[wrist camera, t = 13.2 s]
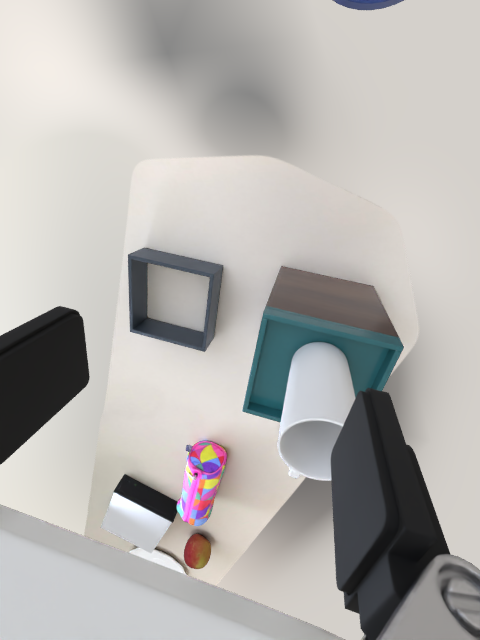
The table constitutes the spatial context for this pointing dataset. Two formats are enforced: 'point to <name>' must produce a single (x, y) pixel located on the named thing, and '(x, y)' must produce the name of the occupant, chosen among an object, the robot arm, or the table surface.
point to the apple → (197, 551)
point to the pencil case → (201, 481)
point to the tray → (298, 330)
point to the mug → (314, 409)
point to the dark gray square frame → (139, 298)
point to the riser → (330, 300)
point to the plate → (159, 559)
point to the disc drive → (139, 514)
